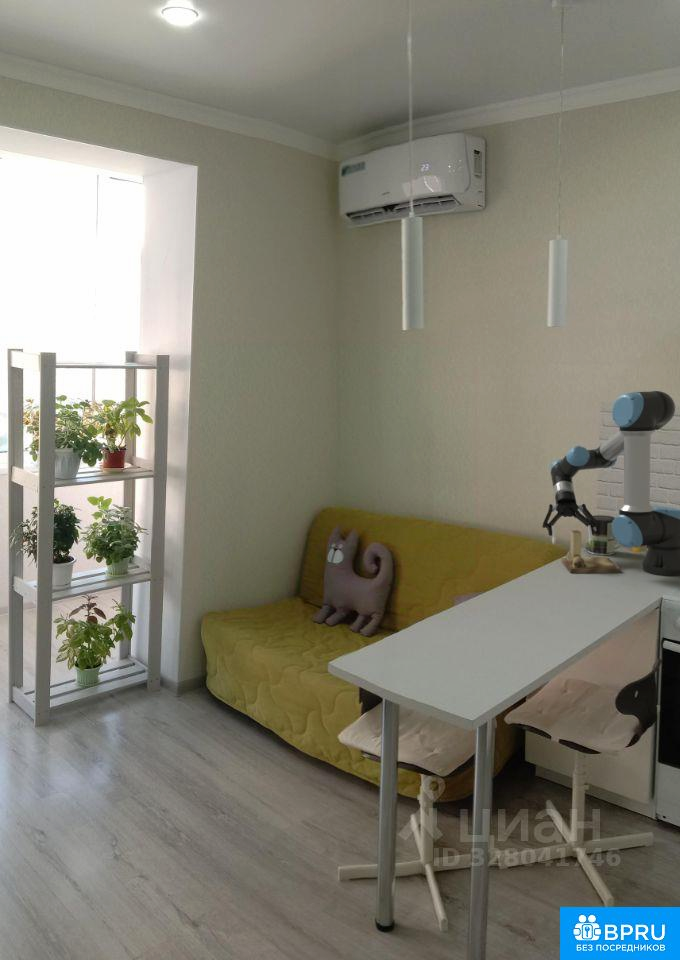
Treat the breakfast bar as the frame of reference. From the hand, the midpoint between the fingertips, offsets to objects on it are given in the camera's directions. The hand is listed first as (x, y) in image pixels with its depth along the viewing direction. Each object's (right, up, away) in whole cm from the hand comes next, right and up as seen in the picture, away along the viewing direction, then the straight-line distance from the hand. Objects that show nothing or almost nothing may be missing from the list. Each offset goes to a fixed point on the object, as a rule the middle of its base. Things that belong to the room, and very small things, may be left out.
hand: (572, 542), depth 304 cm
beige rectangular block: (0, -8, -2) cm, 8 cm away
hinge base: (+6, -9, -2) cm, 11 cm away
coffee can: (+17, -6, +20) cm, 27 cm away
